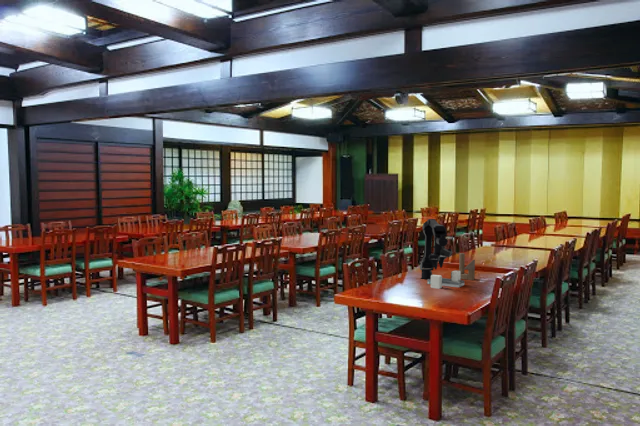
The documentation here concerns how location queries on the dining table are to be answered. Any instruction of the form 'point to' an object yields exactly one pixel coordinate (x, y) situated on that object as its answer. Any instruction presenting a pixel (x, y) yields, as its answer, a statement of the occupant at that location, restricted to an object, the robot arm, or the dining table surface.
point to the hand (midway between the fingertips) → (438, 268)
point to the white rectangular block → (436, 281)
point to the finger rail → (451, 280)
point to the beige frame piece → (469, 267)
